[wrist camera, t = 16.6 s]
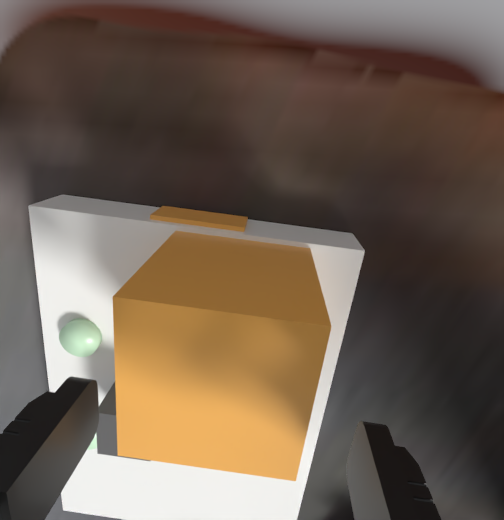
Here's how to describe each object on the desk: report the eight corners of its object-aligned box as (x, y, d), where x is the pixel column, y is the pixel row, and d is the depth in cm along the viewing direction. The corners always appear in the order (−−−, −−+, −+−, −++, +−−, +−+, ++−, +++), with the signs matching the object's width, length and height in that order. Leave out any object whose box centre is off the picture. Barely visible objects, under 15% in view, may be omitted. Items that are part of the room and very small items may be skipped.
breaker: (169, 378, 17) (151, 420, 15) (167, 416, 18) (150, 461, 16) (120, 371, 17) (95, 412, 15) (121, 409, 18) (97, 453, 16)
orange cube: (310, 248, 14) (331, 326, 9) (289, 360, 16) (295, 481, 11) (175, 230, 15) (112, 296, 9) (171, 343, 17) (117, 455, 11)
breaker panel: (353, 229, 17) (369, 250, 14) (289, 502, 24) (290, 553, 21) (62, 190, 17) (19, 203, 14) (84, 472, 24) (58, 518, 21)
